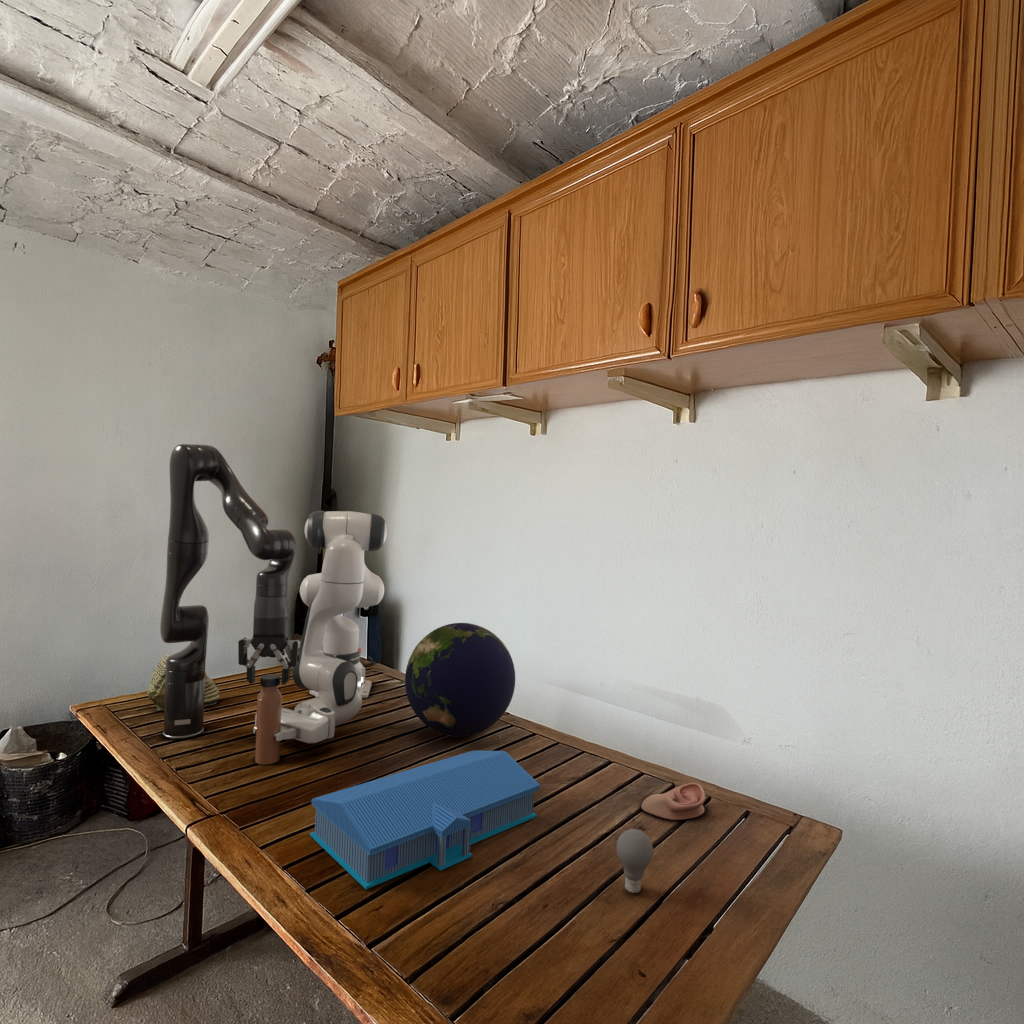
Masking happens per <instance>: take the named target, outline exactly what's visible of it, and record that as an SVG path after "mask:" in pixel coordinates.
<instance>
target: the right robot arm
mask: <svg viewBox="0 0 1024 1024" xmlns="http://www.w3.org/2000/svg"><path fill="white" fill-rule="evenodd" d="M387 526H388V525H387V523H386V520H385V519H384V517H383V516H381V515H380V514H376V513H371V514H370V513H365V512H359V511H352V510H345V511H343V510H341V511H340V510H331V511H325V510H317V511H312V512H311V513H310V514H309V515H308V518H307V520H306V521H305V525H304V536H305V539H306V543H307V544H308V545H309V546H310V547H311V548H312V549H314V550H316V551H317V554H319V555H321V551H322V550H325V553H324V558H323V562H322V567H321V572H319V573H312V574H308V575H306V577H304V578H303V580H302V582H301V584H300V587H299V595H300V598H301V600H302V602H303V603H304V604H305V605H306V606H307V607H308V609H307V612H306V617H305V620H304V626H303V630H302V636H301V639H300V641H301V643H300V655H299V663H298V664H297V665H296V666H295V667H292V670H291V671H292V672H291V673H292V679H293V682H294V684H295V685H296V687H297V688H299V689H301V690H306V691H309V695H312V696H314V697H313V698H310V699H307V700H304V701H301V702H298V704H297V705H295V707H294V709H289V708H286V707H282V710H281V731H278V732H275V733H274V734H273V736H274V737H273V739H274V740H276V741H280V742H281V741H283V740H296V741H299V742H303V743H306V744H316V743H319V742H323V741H325V740H326V739H327V740H328V739H332V738H334V737H335V730H336V727H338V726H340V725H342V724H345V723H346V722H349V721H351V720H352V719H353V718H354V717H355V716H357V715H358V714H359V712H360V710H361V709H362V705H363V699H365V698H368V697H369V695H370V691H371V689H372V685H373V682H372V681H371V680H368V679H366V668H365V667H367V666H370V665H372V664H373V662H374V659H373V658H372V657H371V656H368V657H367V660H368V661H369V662H367V663H365V664H363V663H362V662H361V654H362V648H361V647H359V645H360V627H359V625H358V624H357V622H355V621H354V620H352V619H350V618H348V617H346V616H344V614H347V613H350V612H351V611H353V610H355V609H357V608H359V609H360V608H368V607H375V606H377V605H379V603H381V601H382V600H383V598H384V595H385V584H384V582H383V580H382V578H381V577H380V576H379V575H377V574H375V573H374V572H372V571H371V570H370V569H369V568H368V567H367V565H366V563H365V551H368V552H374V551H379V550H381V548H383V547H384V544H385V543H386V540H387V537H388V527H387ZM256 719H257V712H256V713H255V715H254V727H253V732H252V733H253V734H255V735H256Z"/></svg>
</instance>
